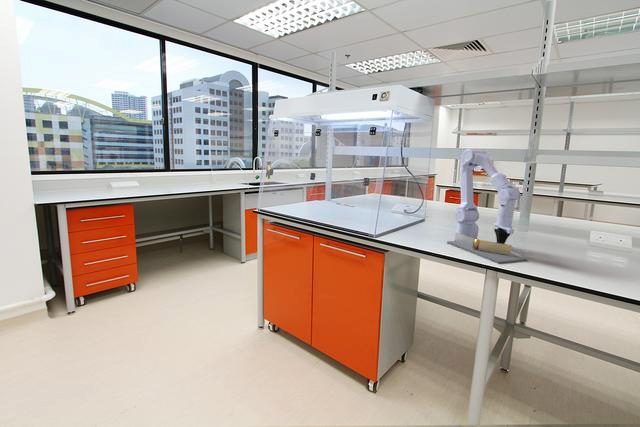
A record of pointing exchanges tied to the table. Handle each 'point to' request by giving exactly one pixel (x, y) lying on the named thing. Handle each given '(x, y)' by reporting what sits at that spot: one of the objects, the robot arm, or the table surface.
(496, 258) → the board
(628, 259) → the table surface
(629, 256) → the table surface
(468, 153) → the robot arm
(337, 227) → the table surface
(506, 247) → the swing leaf
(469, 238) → the fixed leaf
